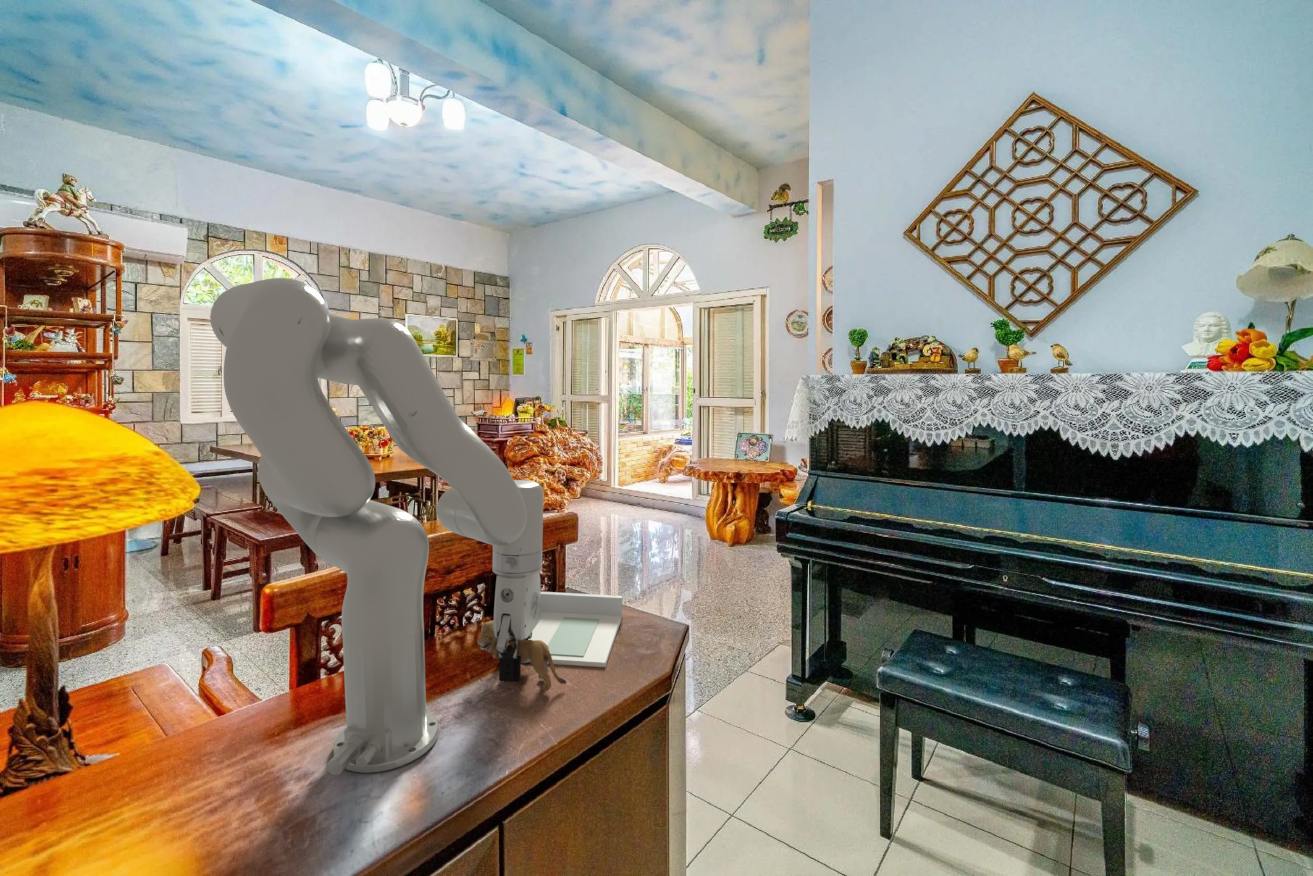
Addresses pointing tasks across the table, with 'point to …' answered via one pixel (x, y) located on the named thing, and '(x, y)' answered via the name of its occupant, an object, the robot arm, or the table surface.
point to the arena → (578, 627)
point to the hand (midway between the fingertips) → (515, 670)
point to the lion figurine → (522, 653)
